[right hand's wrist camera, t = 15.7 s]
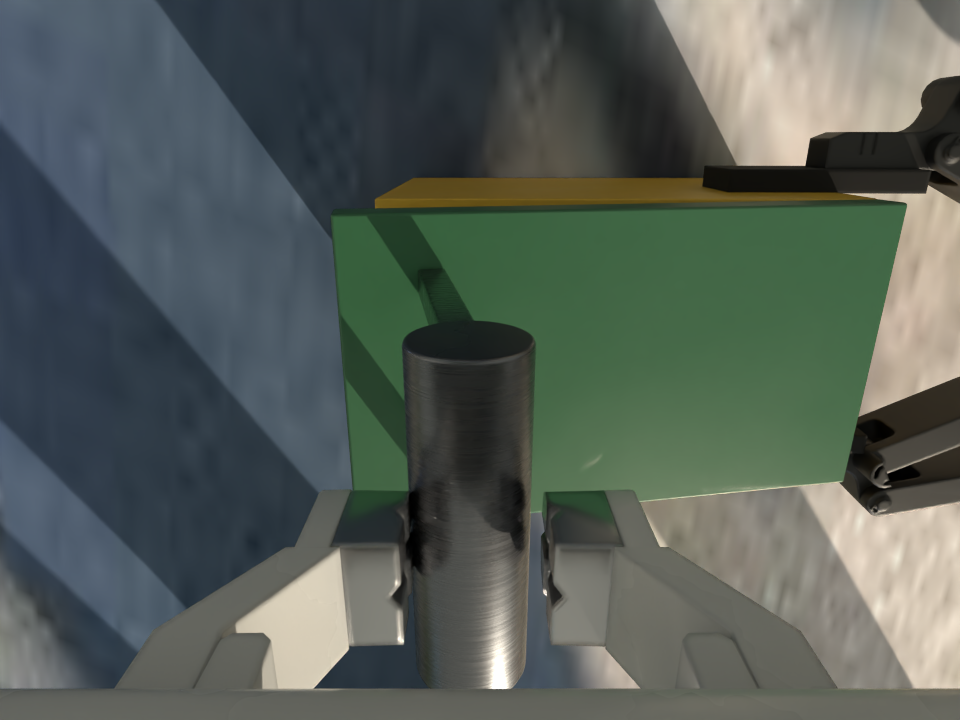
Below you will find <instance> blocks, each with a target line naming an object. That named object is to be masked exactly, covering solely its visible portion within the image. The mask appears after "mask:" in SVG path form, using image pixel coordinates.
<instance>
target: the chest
mask: <svg viewBox="0 0 960 720" xmlns="http://www.w3.org/2000/svg"><path fill="white" fill-rule="evenodd" d="M702 184H703V178H412V179H411V180H409V181H407V182H405V183H403V184H402V185H400V186H398V187H396V188H394V189H392V190H391V191H389V192H387V193H385V194H383V195H381V196H380V197H378V198H376V199H375V208H419V207H474V206H530V205H585V204H641V203H696V202H751V201H807V200H862V199H875V198H868V197H862V196H856V195H849V194H843V193H769V192H724V191H720V190H715V189H711V188H707V187H703V186H702Z"/></svg>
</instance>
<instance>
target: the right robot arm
mask: <svg viewBox="0 0 960 720" xmlns="http://www.w3.org/2000/svg"><path fill="white" fill-rule="evenodd" d="M542 517H543V523H544V530H545V532H544V533H543V534H542V536H541V575H542V585H543V593H544V594H545V595H546V596H547V606H546V615H547V621H548V628H549V635H550V641H551V645H576V646H606V650H607V651H608V652H609V653H610V654H611V656H612V657H613V658H614V659H615V660H616V661H617V662H618V663H619V664H620V666H621V667H622V668H623V669H624V670H625V671H626V672H627V673H628V675H629V676H630V677H631V678H632V679H633V680H634V681H635V682H636V683H637V685H638V686H639V687H640V688H641V689H313V688H314V687H315V686H316V685H317V684H318V683H319V682H320V681H321V680H322V679H323V677H324V676H325V675H326V674H327V673H328V672H329V671H330V670H331V669H332V668H333V666H334V665H335V664H336V663H337V662H338V661H339V660H340V659H341V658H342V657H343V655H344V654H345V653H346V652H347V651H348V650H349V646H378V645H404V639H405V633H406V627H407V620H408V614H409V609H408V596H409V595H410V594H411V593H412V587H413V578H414V544H413V538H412V535H411V532H410V530H411V524H412V502H411V491H383V490H353V491H352V490H323V491H321V492H320V493H319V494H318V497H317V499H316V501H315V503H314V505H313V507H312V510H311V512H310V514H309V516H308V518H307V521H306V523H305V525H304V527H303V529H302V532H301V534H300V536H299V538H298V540H297V542H296V545H295V547H285V548H284V549H282V550H280V551H279V552H277V553H276V554H274V555H272V556H271V557H269V558H268V559H266V560H264V561H263V562H261V563H260V564H258V565H256V566H255V567H253V568H252V569H250V570H248V571H247V572H245V573H244V574H242V575H240V576H239V577H237V578H236V579H234V580H233V581H231V582H229V583H228V584H226V585H225V586H223V587H221V588H220V589H218V590H217V591H215V592H213V593H212V594H210V595H209V596H207V597H205V598H204V599H202V600H201V601H199V602H197V603H196V604H194V605H193V606H191V607H189V608H188V609H186V610H185V611H183V612H182V613H180V614H178V615H177V616H175V617H174V618H172V619H170V620H169V621H167V622H166V623H164V624H162V625H161V626H159V627H158V628H156V629H154V630H153V631H152V633H151V634H150V636H149V637H148V639H147V640H146V642H145V643H144V645H143V646H142V648H141V649H140V651H139V652H138V654H137V655H136V657H135V658H134V660H133V661H132V663H131V664H130V666H129V667H128V669H127V670H126V672H125V673H124V675H123V676H122V678H121V679H120V681H119V682H118V684H117V685H116V687H115V688H114V689H0V720H960V689H838V688H837V687H836V685H835V684H834V682H833V680H832V679H831V677H830V676H829V674H828V673H827V671H826V670H825V668H824V667H823V665H822V663H821V662H820V660H819V659H818V657H817V656H816V654H815V653H814V651H813V650H812V648H811V646H810V645H809V643H808V642H807V640H806V639H805V637H804V636H803V634H802V633H801V631H799V630H798V629H796V628H795V627H793V626H792V625H790V624H788V623H787V622H785V621H784V620H782V619H781V618H779V617H777V616H776V615H774V614H773V613H771V612H770V611H768V610H766V609H765V608H763V607H762V606H760V605H759V604H757V603H755V602H754V601H752V600H751V599H749V598H748V597H746V596H744V595H743V594H741V593H740V592H738V591H737V590H735V589H733V588H732V587H730V586H729V585H727V584H726V583H724V582H722V581H721V580H719V579H718V578H716V577H715V576H713V575H711V574H710V573H708V572H707V571H705V570H704V569H702V568H700V567H699V566H697V565H696V564H694V563H693V562H691V561H689V560H688V559H686V558H685V557H683V556H682V555H680V554H678V553H677V552H675V551H674V550H672V549H671V548H669V547H660V546H659V544H658V542H657V540H656V538H655V535H654V533H653V531H652V529H651V526H650V524H649V522H648V520H647V517H646V515H645V513H644V511H643V509H642V506H641V504H640V502H639V500H638V497H637V495H636V493H635V492H634V491H633V490H631V489H625V490H599V491H559V492H544V494H543V504H542Z"/></svg>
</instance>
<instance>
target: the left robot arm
mask: <svg viewBox="0 0 960 720" xmlns="http://www.w3.org/2000/svg"><path fill="white" fill-rule="evenodd" d="M921 105H922V110H921V112H920V114H919V115H918V117H917V118H916V120H915V121H914V122H913V123H912V124H911V125H910V126H909V127H907V128H906V129H904V130H902V131H899V132H826V133H823V134H821V135H818V136H815V137H813V138H810V143H809V149H808V155H807V160H806V166H705V168H704V176H703V184H702V186H703V187H707V188H711V189H715V190H720V191H724V192H769V193H926V191H927V187H928V185H929V186H931V187H933V188H934V189H936V190H938V191H939V192H941V193H943V194H944V195H946V196H948V197H950V198H951V199H953V200H955V201H956V202H958V203H960V76H954V77H946V78H940V79H937V80H934V81H932V82H931V83H930V84H929V85H928V86H927V87H926V88H925V90H924V91H923V93H922V97H921ZM839 483H840V484H841V485H842V486H843V487H844V488H845V489H846V490H847V491H848V492H849V493H850V494H851V495H852V496H853V497H854V498H855V499H856V500H857V501H858V502H859V503H860V504H861V505H862V506H863V507H864V508H865V509H866V510H867V511H868V512H869V513H870V514H871V515H874V516H887V515H893V514H899V513H905V512H911V511H916V510H922V509H928V508H934V507H940V506H946V505H951V504H957V503H960V377H957V378H955V379H952V380H950V381H947V382H945V383H942V384H940V385H937V386H935V387H932V388H930V389H927V390H925V391H922V392H920V393H917V394H915V395H912V396H910V397H907V398H905V399H902V400H900V401H897V402H895V403H892V404H890V405H887V406H885V407H882V408H880V409H877V410H875V411H872V412H870V413H867V414H865V415H862V416H860V417H858V419H857V424H856V428H855V432H854V437H853V441H852V445H851V450H850V454H849V458H848V463H847V467H846V471H845V476H844V480H843V482H839Z"/></svg>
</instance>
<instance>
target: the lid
mask: <svg viewBox="0 0 960 720" xmlns="http://www.w3.org/2000/svg"><path fill="white" fill-rule="evenodd" d="M906 208H907V204H906V203H903V202H895V201H886V200H878V199H862V200H807V201H751V202H696V203H641V204H585V205H530V206H474V207H419V208H364V209H335V210H333V212H332V214H331V230H332V242H333V254H334V266H335V278H336V291H337V303H338V315H339V327H340V340H341V352H342V364H343V376H344V389H345V401H346V413H347V425H348V437H349V450H350V462H351V474H352V486H353V490H383V491H411V502H412V524H411V530H410V532H411V535H412V538H413V544H414V578H413V599H414V621H415V642H416V663H417V669H418V671H419V674H420V676H421V678H422V680H423V681H424V682H425V684H426V685H427V686H428V687H429V688H430V689H511V688H512V687H513V686H514V685H515V684H516V683H517V681H518V680H519V678H520V677H521V675H522V673H523V671H524V667H525V661H526V635H527V604H528V574H529V543H530V513H536V512H542V504H543V494H544V492H559V491H599V490H625V489H631V490H633V491H634V492H635V493H636V495H637V497H638V500H639V502H647V501H657V500H667V499H677V498H687V497H697V496H707V495H717V494H727V493H737V492H747V491H758V490H768V489H778V488H788V487H798V486H808V485H818V484H828V483H838V482H843V480H844V476H845V471H846V467H847V463H848V458H849V454H850V450H851V445H852V441H853V437H854V432H855V428H856V424H857V419H858V415H859V411H860V406H861V402H862V398H863V393H864V389H865V385H866V381H867V376H868V372H869V368H870V363H871V359H872V355H873V350H874V346H875V342H876V337H877V333H878V329H879V324H880V320H881V316H882V311H883V307H884V303H885V298H886V294H887V290H888V285H889V281H890V277H891V272H892V268H893V264H894V260H895V255H896V251H897V247H898V242H899V238H900V234H901V229H902V225H903V221H904V216H905V212H906Z"/></svg>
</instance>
